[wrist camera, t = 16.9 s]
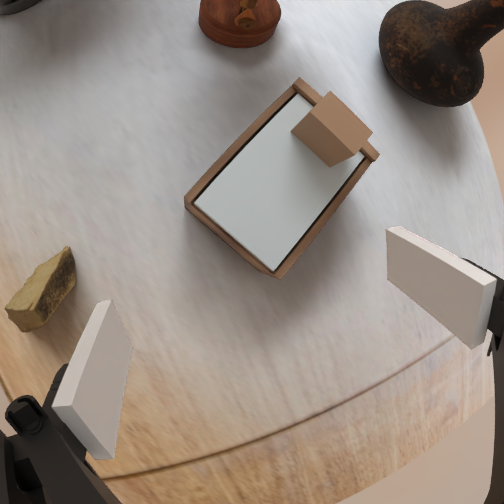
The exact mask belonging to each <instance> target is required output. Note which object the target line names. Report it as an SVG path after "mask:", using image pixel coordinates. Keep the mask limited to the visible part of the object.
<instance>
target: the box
mask: <svg viewBox="0 0 504 504" xmlns="http://www.w3.org/2000/svg"><path fill="white" fill-rule="evenodd" d="M297 94H300V95H301V96H302V97H303V98H304V99H305V100H306V101H308V102H309V103H310V104H311V105H312V106H313V107H314V106H315V105H316V104H317V103H318V102H319V101H320V100H321V99H322V98H323V97H321V96H320V95H319V94H318V93H317V92H316V91H315V90H314V89H313V88H311V87H310V86H309V85H308V84H307V83H306V82H304V81H303V80H302V79H301V78H298V79H297V80H296V81H295V82H294V83H293V85H292V86H291V87H290V88H289V89H288V90H286V91H285V92H284V93H283V94H282V95H281V96H280V97H279V98H278V99H277V100H276V101H275V102H274V103H273V104H272V105H271V106H270V107H269V108H268V109H267V110H266V111H265V112H264V113H263V114H262V115H261V116H260V117H259V118H258V119H257V120H256V121H255V122H254V123H253V124H252V125H251V126H250V127H249V128H248V129H247V130H246V131H245V132H244V133H243V134H242V135H241V136H240V137H239V138H238V139H237V140H236V141H235V142H234V143H233V144H232V145H231V146H230V147H229V148H228V149H227V150H226V151H225V152H224V153H223V155H222V156H221V157H220V158H219V159H218V160H217V161H216V162H215V163H214V164H213V165H212V166H211V167H210V168H209V170H208V171H207V172H206V173H205V174H204V175H203V176H202V177H201V178H200V179H199V181H198V182H197V183H196V184H195V185H194V186H193V187H192V188H191V189H190V191H189V192H188V193H187V194H186V195H185V196H184V204H185V208H186V209H187V210H188V211H190V212H191V213H192V214H193V215H194V216H195V217H197V218H198V219H199V220H200V221H201V222H202V223H204V224H205V225H206V226H207V227H208V228H209V229H211V230H212V231H213V232H214V233H215V234H216V235H218V236H219V237H220V238H221V239H222V240H223V241H224V242H226V243H227V244H228V245H229V246H230V247H231V248H233V249H234V250H235V251H236V252H237V253H238V254H240V255H241V256H242V257H243V258H244V259H246V260H247V261H248V262H249V263H250V264H251V265H253V266H254V267H255V268H256V269H257V270H258V271H260V272H262V273H264V274H267V275H269V276H272V277H274V278H277V279H279V280H281V279H282V278H283V276H284V275H285V274H286V273H287V271H288V270H289V269H290V268H291V266H292V265H293V264H294V263H295V261H296V260H297V259H298V258H299V256H300V255H301V254H302V253H303V251H304V250H305V249H306V248H307V246H308V245H309V244H310V243H311V241H312V240H313V239H314V237H315V236H316V235H317V234H318V232H319V231H320V230H321V229H322V227H323V226H324V225H325V223H326V222H327V221H328V220H329V218H330V217H331V216H332V214H333V213H334V212H335V211H336V209H337V208H338V207H339V205H340V204H341V203H342V201H343V200H344V199H345V198H346V196H347V195H348V194H349V192H350V191H351V190H352V188H353V187H354V186H355V184H356V183H357V182H358V180H359V179H360V178H361V176H362V175H363V174H364V172H365V171H366V170H367V168H368V167H369V166H370V164H371V163H372V162H374V161H376V159H377V158H378V157H379V155H380V154H379V153H378V152H377V151H376V150H375V149H374V147H373V146H372V145H371V144H370V143H369V142H368V141H366V142H365V143H364V145H363V146H362V147H361V148H360V150H359V151H360V152H361V153H362V154H363V155H364V158H363V159H362V160H361V162H360V163H359V164H358V165H357V167H356V168H355V169H354V171H353V172H352V173H351V175H350V176H349V177H348V178H347V180H346V181H345V182H344V184H343V185H342V186H341V187H340V189H339V190H338V191H337V192H336V194H335V195H334V196H333V198H332V199H331V200H330V201H329V203H328V204H327V205H326V206H325V208H324V209H323V210H322V212H321V213H320V214H319V215H318V217H317V218H316V219H315V220H314V222H313V223H312V224H311V225H310V227H309V228H308V229H307V230H306V232H305V233H304V234H303V235H302V237H301V238H300V239H299V240H298V242H297V243H296V244H295V245H294V247H293V248H292V249H291V250H290V252H289V253H288V254H287V255H286V256H285V258H284V259H283V260H282V261H281V263H280V264H279V265H278V266H277V268H276V269H275V270H274V271H272V270H270V269H269V268H268V267H267V266H265V265H264V264H263V263H262V262H261V261H260V260H258V259H257V258H256V257H255V256H254V255H253V254H252V253H250V252H249V251H248V250H247V249H246V248H245V247H243V246H242V245H241V244H240V243H239V242H238V241H236V240H235V239H234V238H233V237H232V236H231V235H229V234H228V233H227V232H226V231H225V230H224V229H223V228H221V227H220V226H219V225H218V224H217V223H216V222H214V221H213V220H212V219H211V218H210V217H209V216H207V215H206V214H205V213H204V212H203V211H202V210H201V209H199V208H198V207H197V206H196V205H195V204H194V203H195V201H196V200H197V199H198V198H199V197H200V196H201V195H202V193H203V192H204V191H205V190H206V189H207V188H208V187H209V186H210V185H211V183H212V182H213V181H214V180H215V179H216V178H217V177H218V176H219V175H220V173H221V172H222V171H223V170H224V169H225V168H226V167H227V166H228V165H229V164H230V163H231V162H232V160H233V159H234V158H235V157H236V156H237V155H238V154H239V153H240V152H241V151H242V150H243V149H244V148H245V147H246V146H247V145H248V143H249V142H250V141H251V140H252V139H253V138H254V137H255V136H256V135H257V134H258V133H259V132H260V131H261V130H262V129H263V128H264V127H265V126H266V125H267V124H268V123H269V122H270V121H271V120H272V119H273V118H274V117H275V116H276V115H277V114H278V113H279V112H280V111H281V110H282V109H283V108H284V107H285V106H286V105H287V104H288V103H289V102H290V101H291V100H292V99H293V98H294V97H295V96H296V95H297Z"/></svg>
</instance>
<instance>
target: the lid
mask: <svg viewBox="0 0 504 504" xmlns="http://www.w3.org/2000/svg"><path fill="white" fill-rule="evenodd" d="M372 133H373V132H372V131H371V130H370V129H369V128H368V127H367V126H366V125H365V124H364V123H363V122H362V121H361V120H360V119H359V118H358V117H357V116H356V115H355V114H354V113H353V112H352V111H351V110H350V109H349V108H348V107H347V106H346V105H345V104H344V103H343V102H342V101H341V100H340V99H338V98H337V97H336V96H335V95H334V94H333V93H332V92H331V91H330V92H329V93H327V94H326V95H325V96H324V97H323V98H322V99H321V100H320V101H319V102H318V103H317V104H316V105H315V106H314V107H313V106H312V105H311V104H310V103H309V102H308V101H306V100H305V99H304V98H303V97H302V96H301V95H300V94H297V95H296V96H295V97H294V98H293V99H292V100H291V101H290V102H289V103H288V104H287V105H286V106H285V107H284V108H283V109H282V110H281V111H280V112H279V113H278V114H277V115H276V116H275V117H274V118H273V119H272V120H271V121H270V122H269V123H268V124H267V125H266V126H265V127H264V128H263V129H262V130H261V131H260V132H259V133H258V134H257V135H256V136H255V137H254V138H253V139H252V140H251V141H250V142H249V143H248V145H247V146H246V147H245V148H244V149H243V150H242V151H241V152H240V153H239V154H238V155H237V156H236V157H235V158H234V159H233V160H232V162H231V163H230V164H229V165H228V166H227V167H226V168H225V169H224V170H223V171H222V172H221V173H220V175H219V176H218V177H217V178H216V179H215V180H214V181H213V182H212V183H211V185H210V186H209V187H208V188H207V189H206V190H205V191H204V192H203V193H202V195H201V196H200V197H199V198H198V199H197V200H196V201H195V203H194V204H195V205H196V206H197V207H198V208H199V209H201V210H202V211H203V212H204V213H205V214H206V215H207V216H209V217H210V218H211V219H212V220H213V221H214V222H216V223H217V224H218V225H219V226H220V227H221V228H223V229H224V230H225V231H226V232H227V233H228V234H229V235H231V236H232V237H233V238H234V239H235V240H236V241H238V242H239V243H240V244H241V245H242V246H243V247H245V248H246V249H247V250H248V251H249V252H250V253H252V254H253V255H254V256H255V257H256V258H257V259H258V260H260V261H261V262H262V263H263V264H264V265H265V266H267V267H268V268H269V269H270V270H272V271H274V270H275V269H276V268H277V266H278V265H279V264H280V263H281V261H282V260H283V259H284V258H285V256H286V255H287V254H288V253H289V252H290V250H291V249H292V248H293V247H294V245H295V244H296V243H297V242H298V240H299V239H300V238H301V237H302V235H303V234H304V233H305V232H306V230H307V229H308V228H309V227H310V225H311V224H312V223H313V222H314V220H315V219H316V218H317V217H318V215H319V214H320V213H321V212H322V210H323V209H324V208H325V206H326V205H327V204H328V203H329V201H330V200H331V199H332V198H333V196H334V195H335V194H336V192H337V191H338V190H339V189H340V187H341V186H342V185H343V184H344V182H345V181H346V180H347V178H348V177H349V176H350V175H351V173H352V172H353V171H354V169H355V168H356V167H357V165H358V164H359V163H360V162H361V160H362V159H363V158H364V155H363V154H362V153H361V152H360V151H359V150H360V148H361V147H362V146H363V145H364V143H365V142H366V141H367V140H368V138H369V137H370V136H371V134H372Z"/></svg>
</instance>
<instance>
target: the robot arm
mask: <svg viewBox="0 0 504 504" xmlns="http://www.w3.org/2000/svg"><path fill="white" fill-rule="evenodd" d="M39 1H41V0H0V14H3V15H7V14H13V13H17V12H19V11H22V10H24V9H27V8H29V7H31V6H32V5H34V4H36V3H38V2H39ZM386 243H387V279H388V280H389V281H390V282H391V283H393V284H394V285H395V286H396V287H398V288H399V289H400V290H401V291H403V292H404V293H405V294H406V295H407V296H409V297H410V298H411V299H412V300H414V301H415V302H416V303H417V304H418V305H420V306H421V307H422V308H423V309H425V310H426V311H427V312H428V313H429V314H431V315H432V316H433V317H434V318H435V319H436V320H438V321H439V322H440V323H441V324H442V325H444V326H445V327H446V328H447V329H448V330H449V331H451V332H452V333H453V334H454V335H455V336H456V337H458V338H459V339H460V340H461V341H462V342H463V343H464V344H466V345H467V346H468V347H469V348H470V349H473V348H475V347H476V346H478V345H480V344H481V343H483V342H484V340H485V336H486V332H487V329H489V330H490V331H491V332H492V333H493V334H492V338H491V342H490V346H489V349H488V353H487V356H490V352H491V351H492V355H493V367H494V384H495V439H494V456H493V467H492V476H491V484H490V490H489V493H488V495H487V498H486V500H485V502H484V504H504V280H503V279H501V278H500V277H498V276H496V275H494V274H493V273H491V272H489V271H487V270H486V269H483V268H482V267H480V266H479V265H477V264H475V263H473V262H471V261H470V260H468V259H464V258H460V257H458V256H456V255H454V254H452V253H450V252H448V251H447V250H445V249H443V248H441V247H439V246H437V245H435V244H433V243H432V242H430V241H428V240H426V239H424V238H422V237H420V236H418V235H416V234H414V233H412V232H410V231H408V230H406V229H404V228H402V227H400V226H395V227H391V228H388V229H386ZM132 353H133V345H132V343H131V341H130V339H129V337H128V335H127V333H126V330H125V328H124V326H123V324H122V321H121V319H120V317H119V315H118V312H117V310H116V308H115V305H114V303H113V300H112V299H110V300H106V301H102V302H98V303H97V304H96V306H95V308H94V310H93V312H92V315H91V317H90V319H89V321H88V323H87V325H86V327H85V329H84V331H83V333H82V336H81V338H80V340H79V342H78V344H77V347H76V349H75V351H74V353H73V356H72V358H71V360H70V362H69V363H68V364H64V365H63V366H62V367H61V368H60V370H59V371H58V372H57V373H56V376H55V378H54V380H53V384H52V385H51V387H50V391H49V392H48V394H47V397H46V399H45V401H44V404H43V406H42V407H41V406H40V405H39V403H38V402H37V400H36V399H35V398H34V397H33V396H30V395H24V396H21V397H19V398H17V399H15V400H14V401H13V402H12V403H11V404H10V405H9V406H8V408H7V410H6V412H5V419H6V420H7V421H8V423H10V425H11V426H12V427H13V428H14V430H15V431H16V432H17V433H18V434H16V435H13V436H10V437H6V435H5V434H4V433H3V432H2V431H1V430H0V504H122V503H121V502H120V501H119V500H118V499H117V498H116V496H115V495H114V494H113V493H112V492H111V491H110V489H109V488H108V487H107V486H106V484H105V483H104V482H103V481H102V479H101V478H100V477H99V476H98V474H97V473H96V472H95V471H94V469H93V468H92V467H91V465H90V464H89V463H88V462H87V461H86V460H85V456H86V451H88V452H89V453H90V455H91V456H92V457H93V458H94V459H95V460H104V459H114V457H115V449H116V442H117V435H118V428H119V422H120V416H121V410H122V404H123V398H124V393H125V387H126V382H127V377H128V372H129V367H130V362H131V357H132Z"/></svg>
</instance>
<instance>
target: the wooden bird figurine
mask: <svg viewBox="0 0 504 504" xmlns="http://www.w3.org/2000/svg"><path fill="white" fill-rule="evenodd" d="M280 17H281V8H280V5H279V3H278V2H277V0H201V3H200V11H199V25H200V27H201V29H202V31H203V32H204V33H205V34H206V35H207V36H208V37H209V38H210V39H212V40H213V41H215V42H217V43H219V44H222V45H224V46H228V47H234V48H249V47H254V46H257V45H260V44H262V43H264V42H265V41H267V40H268V39H269V38H270V37H271V36H272V34H273V33H274V30H275V28H276V26H277V24H278V22H279V20H280Z"/></svg>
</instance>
